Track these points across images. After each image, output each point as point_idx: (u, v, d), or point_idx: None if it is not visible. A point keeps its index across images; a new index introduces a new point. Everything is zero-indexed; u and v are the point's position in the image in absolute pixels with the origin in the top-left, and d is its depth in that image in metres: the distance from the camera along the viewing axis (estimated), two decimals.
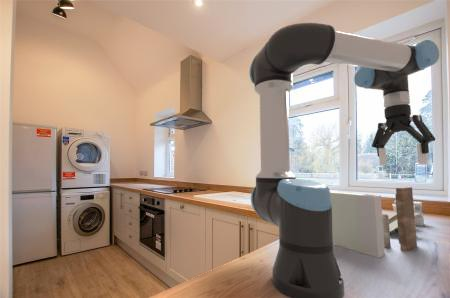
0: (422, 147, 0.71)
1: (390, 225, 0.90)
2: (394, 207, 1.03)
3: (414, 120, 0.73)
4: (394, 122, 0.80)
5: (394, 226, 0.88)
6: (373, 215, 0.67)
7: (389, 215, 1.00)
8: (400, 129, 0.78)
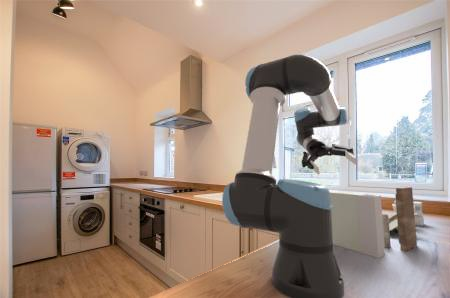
0: None
1: (389, 225, 0.91)
2: (394, 207, 1.03)
3: (334, 145, 0.92)
4: (318, 149, 0.94)
5: (393, 226, 0.88)
6: (373, 215, 0.67)
7: (388, 215, 1.00)
8: (325, 150, 0.91)
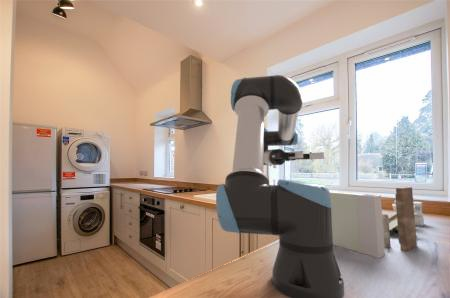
0: None
1: None
2: (394, 207, 1.03)
3: None
4: None
5: (392, 226, 0.88)
6: (373, 215, 0.67)
7: (388, 215, 1.00)
8: None
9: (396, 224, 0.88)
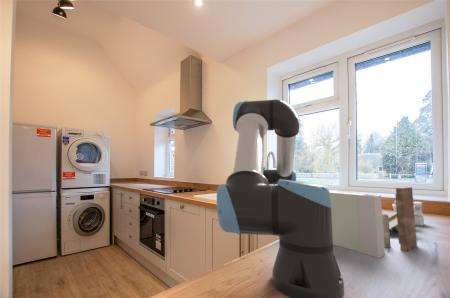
0: None
1: None
2: (394, 207, 1.03)
3: None
4: None
5: (391, 225, 0.89)
6: (373, 215, 0.67)
7: (388, 215, 1.01)
8: None
9: (395, 224, 0.88)
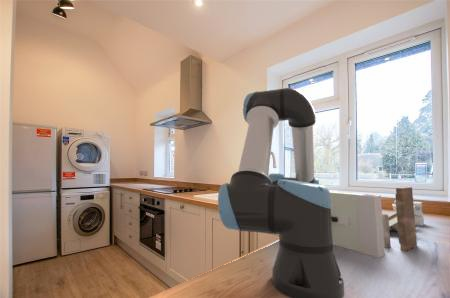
0: None
1: None
2: (394, 207, 1.03)
3: None
4: None
5: None
6: (373, 215, 0.67)
7: (388, 214, 1.01)
8: None
9: (392, 223, 0.89)
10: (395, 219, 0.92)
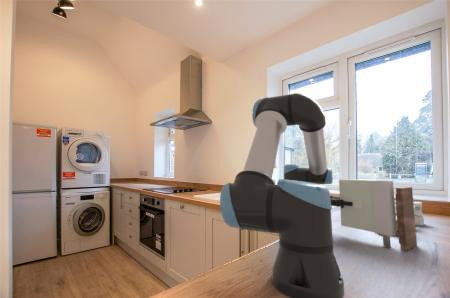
0: None
1: None
2: None
3: (333, 196, 0.97)
4: None
5: None
6: (386, 198, 0.74)
7: None
8: (329, 197, 0.94)
9: None
10: None
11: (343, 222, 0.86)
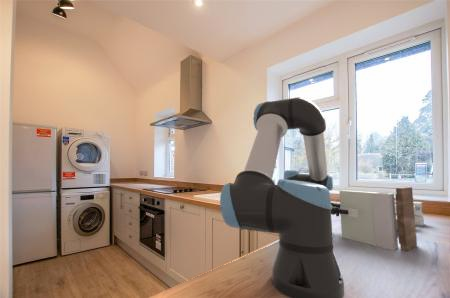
0: None
1: None
2: None
3: (332, 203, 0.97)
4: None
5: None
6: (387, 211, 0.73)
7: None
8: None
9: None
10: None
11: (344, 234, 0.85)
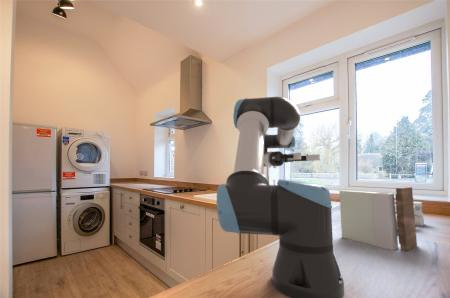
0: None
1: None
2: None
3: None
4: None
5: None
6: (387, 211, 0.73)
7: None
8: None
9: None
10: None
11: (344, 234, 0.85)
